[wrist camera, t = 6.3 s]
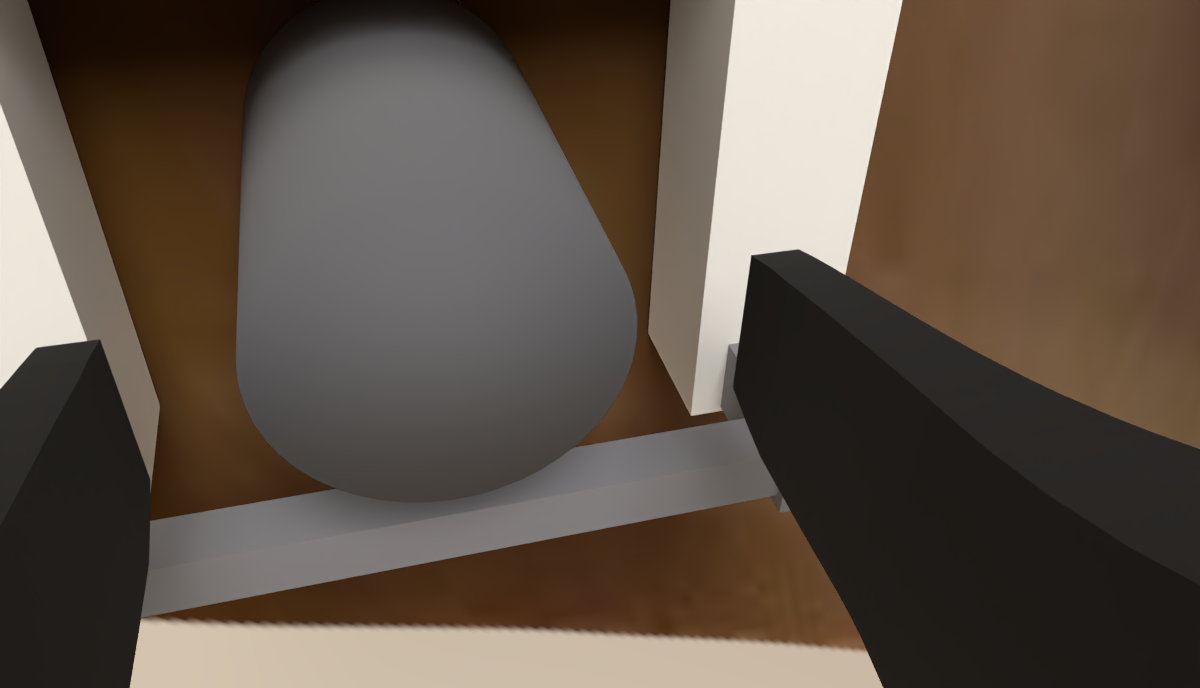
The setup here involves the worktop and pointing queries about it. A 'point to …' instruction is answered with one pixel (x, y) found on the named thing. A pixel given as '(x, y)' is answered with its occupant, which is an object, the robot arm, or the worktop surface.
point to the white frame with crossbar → (676, 320)
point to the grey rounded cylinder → (417, 259)
